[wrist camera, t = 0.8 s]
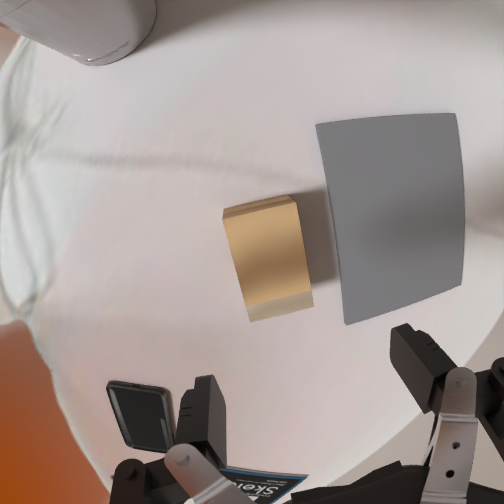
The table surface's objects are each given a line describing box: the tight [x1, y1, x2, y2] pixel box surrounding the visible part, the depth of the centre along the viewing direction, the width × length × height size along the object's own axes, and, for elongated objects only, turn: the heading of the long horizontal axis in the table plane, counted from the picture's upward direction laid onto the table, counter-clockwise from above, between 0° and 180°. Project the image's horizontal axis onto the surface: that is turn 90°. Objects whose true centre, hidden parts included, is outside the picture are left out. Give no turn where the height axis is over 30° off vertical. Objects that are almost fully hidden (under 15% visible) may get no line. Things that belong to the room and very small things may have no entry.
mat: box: [315, 113, 465, 325], centre depth 26 cm, size 20×16×1 cm
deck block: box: [222, 195, 314, 322], centre depth 25 cm, size 9×6×4 cm, turn 13°
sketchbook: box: [176, 466, 307, 504], centre depth 43 cm, size 22×30×2 cm
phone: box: [106, 381, 174, 454], centre depth 34 cm, size 8×1×15 cm
